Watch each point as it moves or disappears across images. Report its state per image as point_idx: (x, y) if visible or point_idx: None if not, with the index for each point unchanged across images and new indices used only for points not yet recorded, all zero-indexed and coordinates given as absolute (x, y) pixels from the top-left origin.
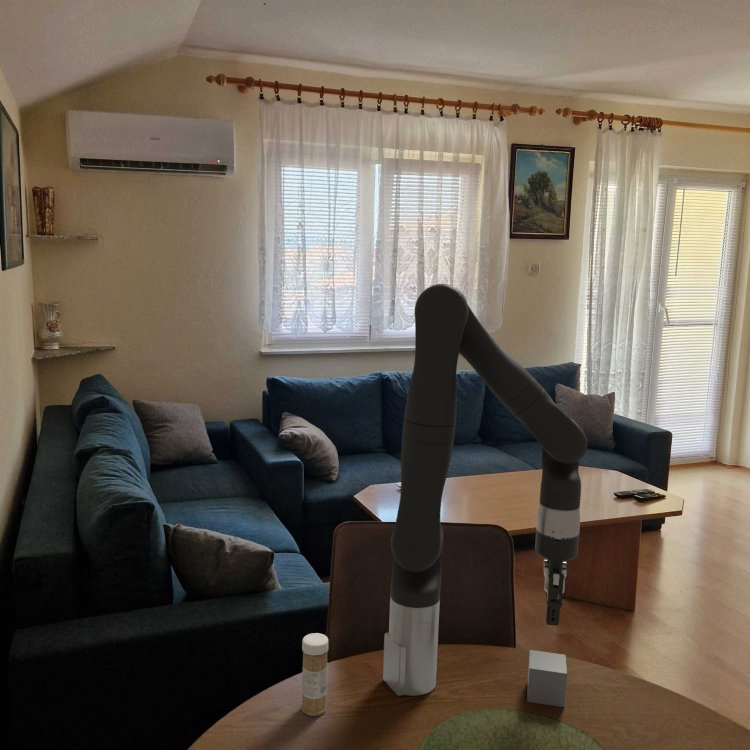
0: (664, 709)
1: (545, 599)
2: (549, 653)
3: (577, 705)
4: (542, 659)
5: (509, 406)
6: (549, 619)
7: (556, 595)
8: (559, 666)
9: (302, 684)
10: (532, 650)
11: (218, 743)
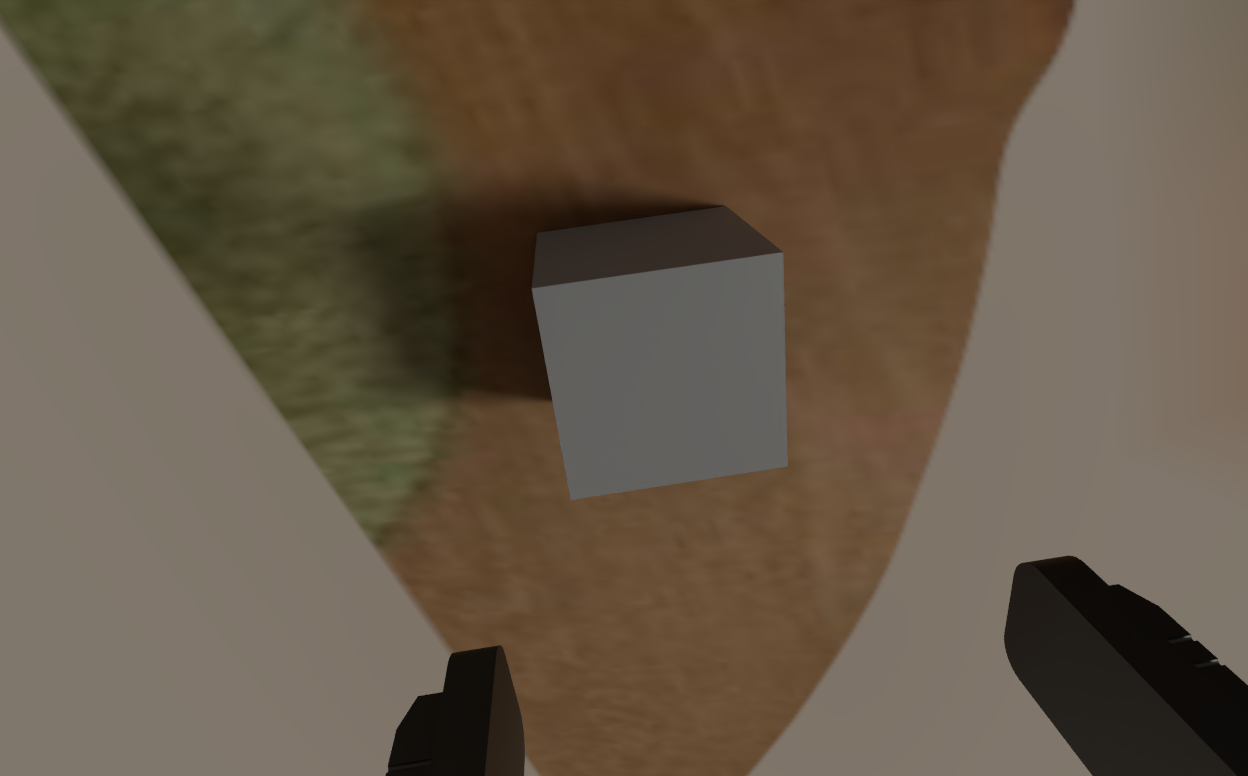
0: (706, 705)
1: (1059, 571)
2: (775, 379)
3: None
4: (682, 350)
5: None
6: (392, 754)
7: (1077, 738)
8: (636, 453)
9: None
10: (778, 271)
11: None
